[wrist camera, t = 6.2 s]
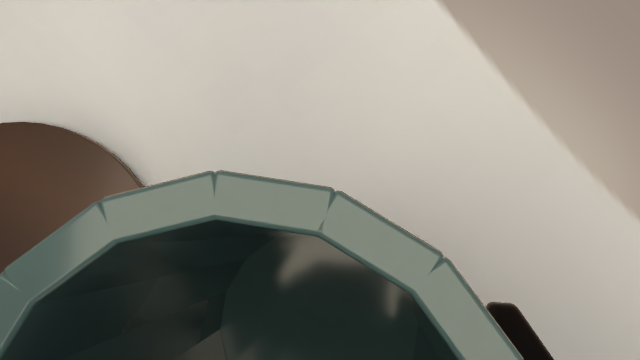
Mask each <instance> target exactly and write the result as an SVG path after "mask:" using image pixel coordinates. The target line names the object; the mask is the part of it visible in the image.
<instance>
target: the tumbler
mask: <svg viewBox="0 0 640 360" xmlns="http://www.w3.org/2000/svg"><path fill="white" fill-rule="evenodd" d="M443 256H444V255H443V254H442V253H441V251H439V250H437V249H436V248H434V247H432V246H431V245H429V244H428V243H426V242H424V241H423V240H421V239H419V238H418V237H416V236H414V235H413V234H411V233H409V232H408V231H406V230H404V229H403V228H401V227H400V226H398V225H396V224H395V223H393V222H391V221H390V220H388V219H386V218H385V217H383V216H381V215H380V214H378V213H376V212H375V211H373V210H372V209H370V208H368V207H367V206H365V205H363V204H362V203H360V202H358V201H357V200H355V199H353V198H352V197H350V196H348V195H347V194H345V193H344V192H342V191H335V190H334V189H332V188H331V187H326V186H320V185H313V184H307V183H300V182H294V181H287V180H281V179H274V178H268V177H261V176H255V175H248V174H242V173H235V172H229V171H222V170H220V171H217V172H213V171H207V172H203V173H199V174H195V175H191V176H187V177H183V178H179V179H175V180H171V181H167V182H163V183H159V184H155V185H151V186H147V187H143V188H139V189H135V190H131V191H127V192H123V193H119V194H115V195H111V196H107V197H104V198H103V199H101V200H100V201H96V202H94V203H92V204H91V205H90V206H88V207H87V208H85V209H84V210H83V211H81V212H80V213H79V214H77V215H76V216H75V217H73V218H72V219H71V220H69V221H68V222H66V223H65V224H64V225H62V226H61V227H60V228H58V229H57V230H56V231H54V232H53V233H52V234H50V235H49V236H47V237H46V238H45V239H43V240H42V241H41V242H39V243H38V244H37V245H35V246H34V247H33V248H31V249H30V250H28V251H27V252H26V253H24V254H23V255H22V256H20V257H19V258H18V259H16V260H15V261H14V262H12V263H11V264H9V265H8V266H7V267H6V268H5V269H4V272H2V273H1V274H0V360H524V359H523V357H522V356H521V354H520V353H519V352H518V350H517V349H516V348H515V346H514V345H513V344H512V342H511V341H510V340H509V338H508V337H507V336H506V334H505V333H504V332H503V330H502V329H501V327H500V326H499V325H498V323H497V322H496V321H495V319H494V318H493V317H492V315H491V314H490V313H489V311H488V310H487V309H486V307H485V306H484V305H483V303H482V302H481V301H480V299H479V298H478V297H477V295H476V294H475V293H474V291H473V290H472V289H471V287H470V286H469V285H468V283H467V282H466V281H465V279H464V278H463V277H462V275H461V274H460V273H459V271H458V270H457V269H456V267H455V266H454V265H453V263H452V262H451V261H450V260H449V259H448V258H446V257H443Z"/></svg>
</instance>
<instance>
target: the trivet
mask: <svg viewBox="0 0 640 360" xmlns="http://www.w3.org/2000/svg"><path fill="white" fill-rule="evenodd" d="M139 188H143V185H142V184H141V183H140V182H139V180H138V179H137V178H136V176H135V175H134V174H133V173H132V171H131V170H130V169H129V168H128V167H127V166H126V165H125V164H124V163H123V162H122V161H121V160H119V159H118V158H117V157H116V156H115V155H114V154H112V153H111V152H109V151H108V150H107V149H105V148H104V147H103V146H101V145H100V144H98V143H96V142H94V141H92V140H90V139H89V138H87V137H85V136H83V135H80V134H77V133H75V132H72V131H69V130H67V129H64V128H60V127H56V126H51V125H47V124H42V123H30V122H13V123H1V124H0V274H1V273H2V272H4V269H5V268H6V267H7V266H8V265H9V264H11V263H12V262H14V261H15V260H16V259H18V258H19V257H20V256H22V255H23V254H24V253H26V252H27V251H28V250H30V249H31V248H33V247H34V246H35V245H37V244H38V243H39V242H41V241H42V240H43V239H45V238H46V237H47V236H49V235H50V234H52V233H53V232H54V231H56V230H57V229H58V228H60V227H61V226H62V225H64V224H65V223H66V222H68V221H69V220H71V219H72V218H73V217H75V216H76V215H77V214H79V213H80V212H81V211H83V210H84V209H85V208H87V207H88V206H90V205H91V204H92V203H94V202H96V201H100V200H101V199H103V198H104V197H107V196H111V195H115V194H119V193H123V192H127V191H131V190H135V189H139Z"/></svg>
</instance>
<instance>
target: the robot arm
mask: <svg viewBox="0 0 640 360" xmlns="http://www.w3.org/2000/svg"><path fill="white" fill-rule="evenodd" d="M486 309H487V310H488V311H489V313H490V314H491V315H492V317H493V318H494V319H495V321H496V322H497V323H498V325H499V326H500V327H501V329H502V330H503V332H504V333H505V334H506V336H507V337H508V338H509V340H510V341H511V342H512V344H513V345H514V346H515V348H516V349H517V350H518V352H519V353H520V354H521V356H522V357H523V359H524V360H554V359H553V358H552V356H551V355H550V353H549V352H548V350H547V349H546V348H545V346H544V345H543V343H542V342H541V340H540V339H539V338H538V336H537V335H536V333H535V332H534V330H533V329H532V328H531V326H530V325H529V323H528V322H527V320H526V319H525V318H524V316H523V315H522V313H521V312H520V310H519V309H518V308H517V307H516V306H515V305H514V304H511V303H500V302H490V303H488V304H487V306H486Z"/></svg>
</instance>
